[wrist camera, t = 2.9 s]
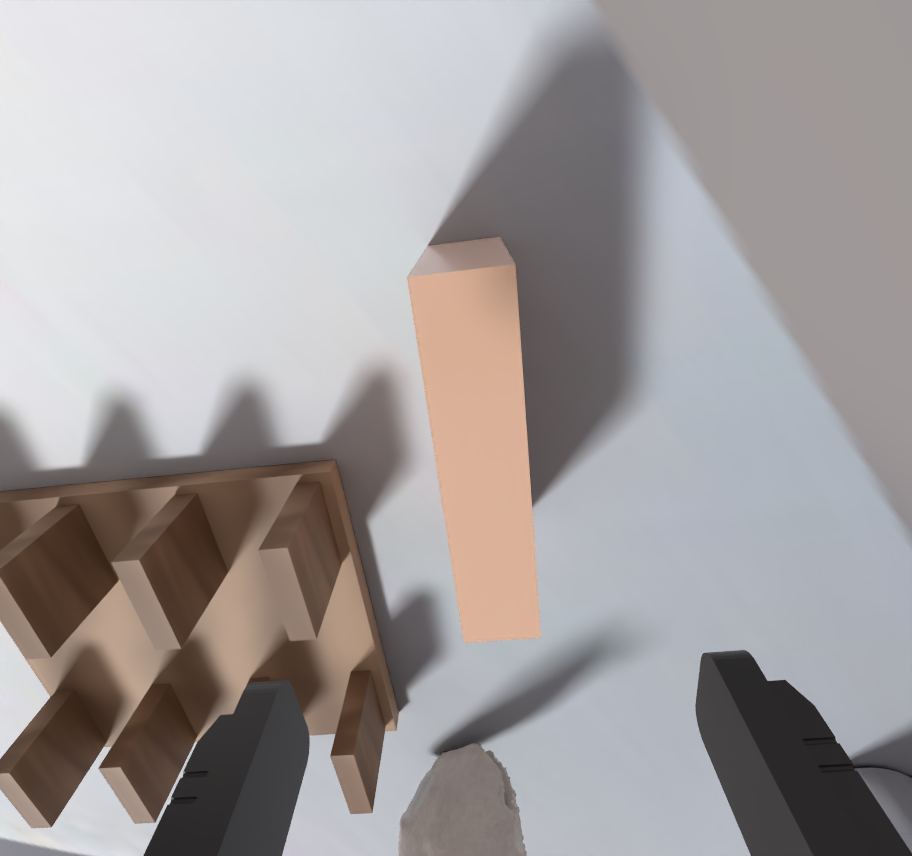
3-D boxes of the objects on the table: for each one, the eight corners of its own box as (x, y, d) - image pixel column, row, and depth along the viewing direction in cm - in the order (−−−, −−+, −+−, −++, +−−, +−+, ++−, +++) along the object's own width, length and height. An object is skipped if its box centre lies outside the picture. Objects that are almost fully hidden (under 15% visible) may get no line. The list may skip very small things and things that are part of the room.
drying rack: (335, 459, 26) (298, 536, 20) (398, 713, 34) (384, 817, 28) (-52, 496, 27) (-186, 577, 22) (96, 730, 35) (26, 833, 30)
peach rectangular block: (499, 236, 21) (515, 264, 14) (521, 516, 27) (540, 637, 20) (427, 245, 22) (407, 277, 14) (465, 521, 28) (463, 642, 20)
